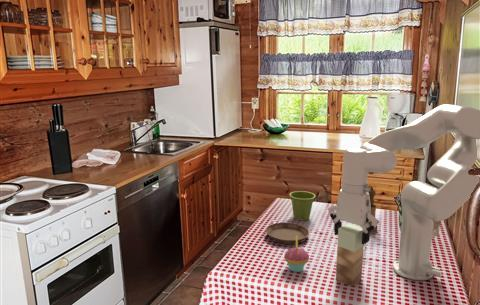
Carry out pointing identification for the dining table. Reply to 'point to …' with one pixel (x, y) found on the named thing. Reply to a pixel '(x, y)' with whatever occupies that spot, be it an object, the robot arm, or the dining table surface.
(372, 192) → the brown carved statuette
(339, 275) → the tower base
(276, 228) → the plant saucer
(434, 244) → the dining table surface
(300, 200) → the plant pot
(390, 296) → the dining table surface
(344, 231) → the sage block
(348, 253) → the tower top
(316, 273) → the dining table surface
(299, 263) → the cupcake
